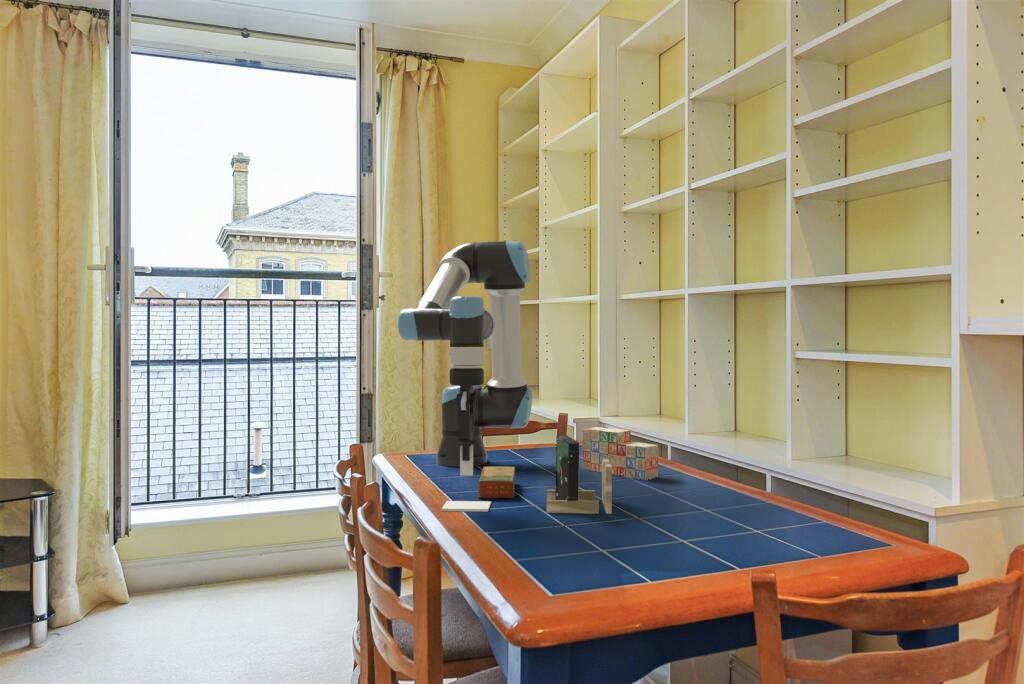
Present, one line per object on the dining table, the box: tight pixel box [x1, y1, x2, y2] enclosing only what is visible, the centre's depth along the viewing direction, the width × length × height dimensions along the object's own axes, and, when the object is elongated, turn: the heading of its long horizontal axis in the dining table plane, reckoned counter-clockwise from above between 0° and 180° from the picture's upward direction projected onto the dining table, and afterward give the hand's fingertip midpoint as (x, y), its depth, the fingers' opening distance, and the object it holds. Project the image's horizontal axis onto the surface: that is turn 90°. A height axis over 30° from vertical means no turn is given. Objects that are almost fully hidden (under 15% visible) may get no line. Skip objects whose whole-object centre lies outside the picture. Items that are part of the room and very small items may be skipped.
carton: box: [477, 466, 516, 499], centre depth 164 cm, size 8×16×4 cm, turn 179°
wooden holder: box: [546, 457, 613, 515], centre depth 149 cm, size 11×14×10 cm
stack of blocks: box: [581, 426, 659, 481], centre depth 185 cm, size 21×6×12 cm, turn 43°
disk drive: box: [555, 434, 581, 501], centre depth 149 cm, size 10×3×15 cm, turn 12°
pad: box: [441, 500, 492, 513], centre depth 149 cm, size 7×10×1 cm
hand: (466, 474), depth 149 cm, fingers closed
